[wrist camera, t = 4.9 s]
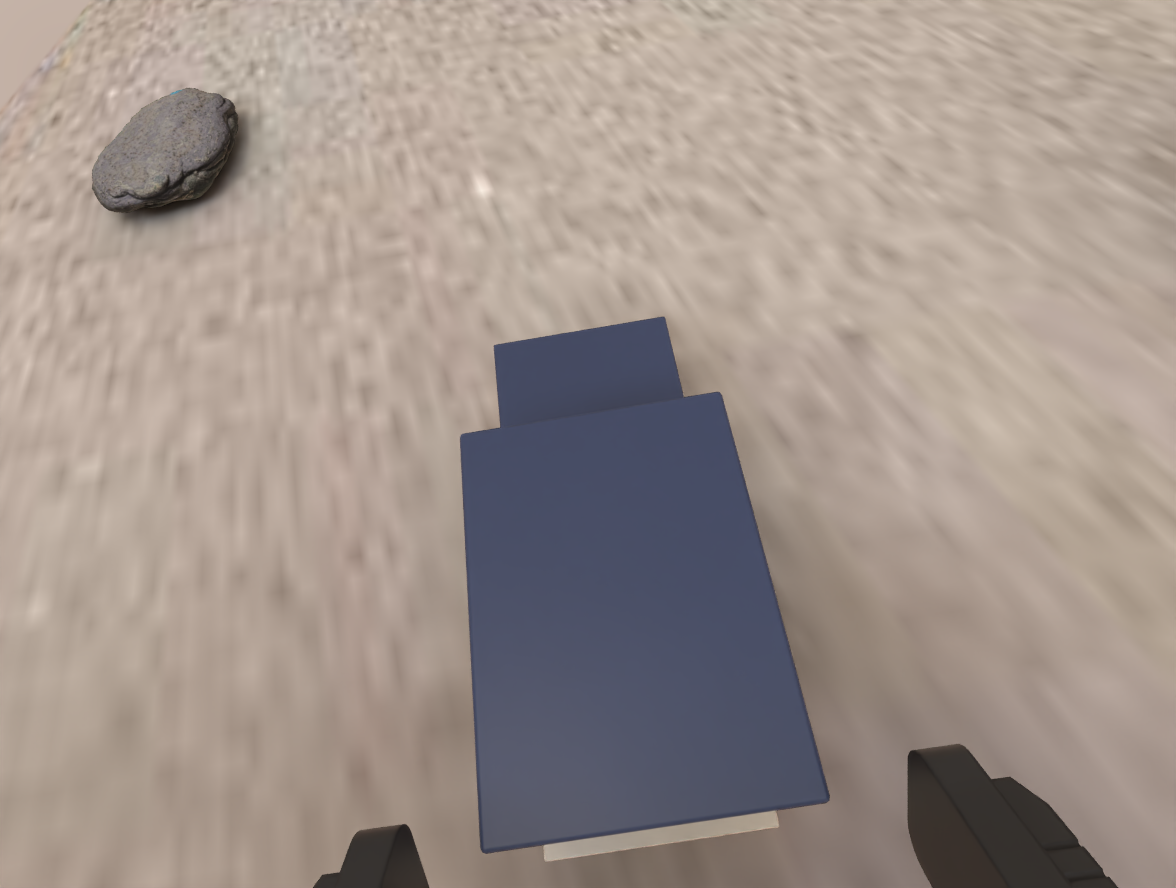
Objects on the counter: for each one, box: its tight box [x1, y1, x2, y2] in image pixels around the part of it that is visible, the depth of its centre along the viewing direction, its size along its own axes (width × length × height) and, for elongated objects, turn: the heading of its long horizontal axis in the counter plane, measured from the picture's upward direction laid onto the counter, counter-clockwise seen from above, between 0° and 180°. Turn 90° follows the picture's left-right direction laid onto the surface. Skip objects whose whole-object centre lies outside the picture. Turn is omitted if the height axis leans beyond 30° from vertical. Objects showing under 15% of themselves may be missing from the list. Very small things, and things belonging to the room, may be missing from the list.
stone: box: [92, 88, 238, 213], centre depth 31 cm, size 7×8×2 cm
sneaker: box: [460, 317, 830, 862], centre depth 17 cm, size 14×6×9 cm, turn 8°
